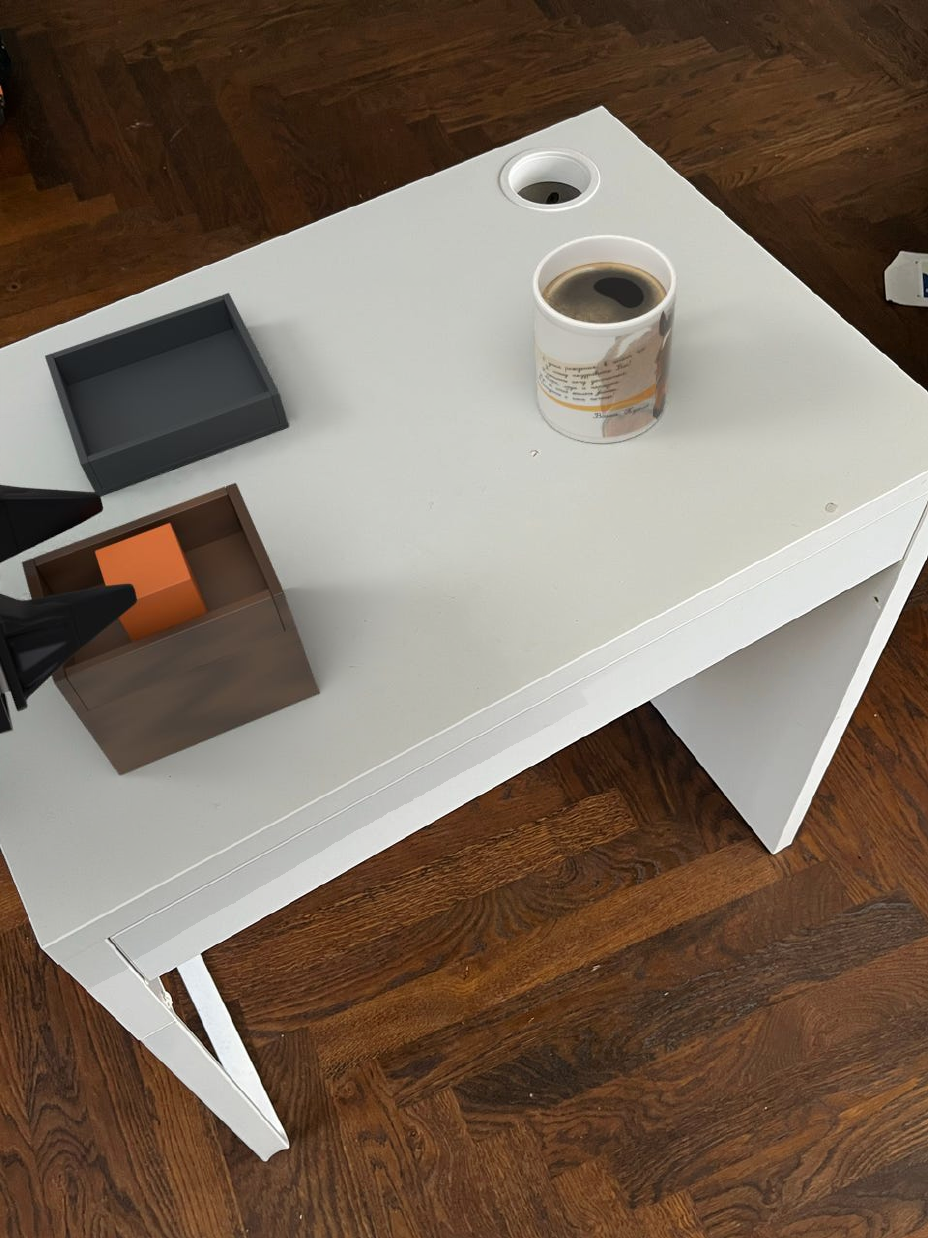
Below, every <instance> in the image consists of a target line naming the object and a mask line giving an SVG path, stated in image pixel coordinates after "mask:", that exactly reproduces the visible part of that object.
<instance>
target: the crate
mask: <svg viewBox="0 0 928 1238" xmlns="http://www.w3.org/2000/svg"><path fill="white" fill-rule="evenodd" d="M168 523H170V524H171V526H172V528H173V530H174V532H175V534H176V537H177V539H178V541H179V543H180V545H181V548H182V550H183V552H184V554H185V557H186V559H187V561H188V563H189V565H190V568H191V570H192V572H193V574H194V576H195V579H196V581H197V584H198V586H199V589H200V591H201V594H202V597H203V599H204V602H205V604H206V607H207V610H208V613H205V614H203V615H200V616H198V617H195V618H193V619H190V620H188V621H185V622H182V623H180V624H177V625H175V626H172V627H170V628H167V629H165V630H162V631H159V632H157V633H154V634H152V635H149V636H147V637H144V638H142V639H139V640H136V641H134V642H132V641H131V639H130V637H129V635H128V634H127V632H126V630H125V628H124V627H123V625H122V623H121V621H120V620H119V618H118V619H117V620H115V621H114V622H113V623H112V624H110V625H109V626H108V627H107V628H106V629H104V630H103V631H102V632H101V633H99V634H98V635H97V636H96V637H95V638H93V639H92V640H91V641H90V642H88V643H87V644H86V645H85V646H84V647H82V648H81V649H80V650H79V651H78V652H77V653H75V654H74V655H73V656H72V657H71V658H70V659H68V660H67V661H66V662H65V663H64V664H63V665H62V666H61V667H60V668H59V669H58V670H57V671H56V672H55V673H54V674H52V675H51V677H52V681H53V684H54V685H55V686H56V688H57V689H58V691H59V692H60V694H61V695H62V697H63V698H64V700H65V701H66V702H67V704H68V705H69V706H70V708H71V710H72V711H73V713H74V714H75V715H76V716H77V718H78V719H79V720H80V722H81V723H82V725H83V726H84V727H85V729H86V730H87V732H88V733H89V735H90V736H91V737H92V739H93V740H94V742H95V743H96V744H97V746H98V748H99V749H100V750H101V751H102V753H103V754H104V756H105V757H106V758H107V760H108V762H109V763H110V764H111V765H112V767H113V769H114V770H115V771H116V773H117V774H118V776H122V775H124V774H127V773H129V772H132V771H134V770H136V769H139V768H141V767H144V766H146V765H148V764H151V763H154V762H156V761H159V760H160V759H163V758H165V757H168V756H170V755H174V754H175V753H178V752H181V751H183V750H186V749H188V748H190V747H193V746H195V745H198V744H199V743H202V742H205V741H207V740H209V739H212V738H214V737H216V736H219V735H222V734H224V733H227V732H229V731H232V730H234V729H237V728H239V727H241V726H244V725H246V724H249V723H251V722H254V721H255V720H258V719H260V718H263V717H266V716H268V715H271V714H273V713H275V712H278V711H281V710H282V709H285V708H288V707H290V706H293V705H295V704H298V703H299V702H302V701H305V700H307V699H309V698H312V697H314V696H317V695H319V694H320V690H319V686H318V683H317V681H316V679H315V678H316V677H315V675H314V673H313V669H312V667H311V664H310V660H309V659H308V656H307V652H306V650H305V647H304V644H303V641H302V639H301V636H300V633H299V630H298V627H297V625H296V622H295V619H294V616H293V613H292V610H291V608H290V604H289V602H288V599H287V596H286V593H285V591H284V588H283V586H282V584H281V582H280V580H279V577H278V574H277V573H276V570H275V568H274V566H273V563H272V561H271V558H270V556H269V555H268V553H267V549H266V547H265V545H264V543H263V541H262V539H261V536H260V534H259V531H258V529H257V527H256V525H255V523H254V520H253V518H252V515H251V513H250V511H249V509H248V506H247V503H246V502H245V499H244V497H243V495H242V492H241V491H240V488H239V486H238V483H237V482H234V483H230V484H229V485H226V486H223V487H220V488H217V489H215V490H212V491H209V492H207V493H204V494H201V495H198V496H196V497H193V498H190V499H188V500H185V501H181V502H180V503H177V504H174V505H172V506H169V507H166V508H163V509H160V510H158V511H156V512H153V513H150V514H147V515H144V516H142V517H139V518H136V519H134V520H132V521H129V522H125V523H123V524H121V525H117V526H116V527H112V528H109V529H107V530H105V531H102V532H99V533H96V534H93V535H91V536H88V537H86V538H83V539H80V540H77V541H75V542H72V543H69V544H67V545H64V546H61V547H59V548H56V549H54V550H51V551H48V552H45V553H42V554H40V555H37V556H35V557H32V558H30V559H27V560H24V561H21V565H22V570H23V572H24V576H25V577H24V578H25V579H26V584H27V588H28V592H29V595H30V599H35V598H41V597H46V596H52V595H57V594H63V593H68V592H73V591H79V590H84V589H90V588H95V587H101V586H106V585H105V582H104V579H103V576H102V572H101V569H100V566H99V563H98V560H97V557H96V554H95V551H96V550H99V549H102V548H104V547H107V546H110V545H112V544H115V543H118V542H120V541H123V540H126V539H128V538H131V537H134V536H136V535H139V534H142V533H144V532H147V531H150V530H152V529H155V528H158V527H160V526H163V525H166V524H168Z"/></svg>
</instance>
